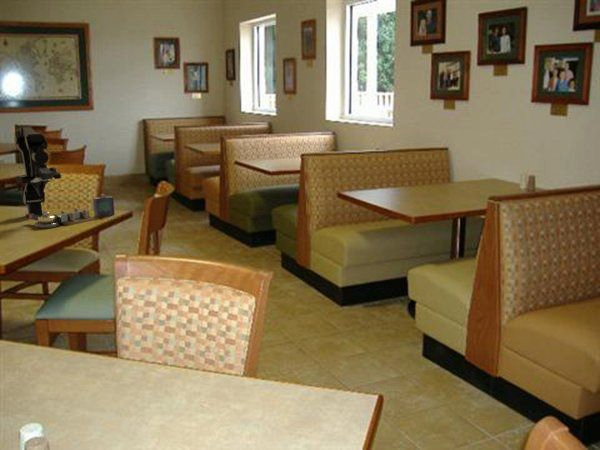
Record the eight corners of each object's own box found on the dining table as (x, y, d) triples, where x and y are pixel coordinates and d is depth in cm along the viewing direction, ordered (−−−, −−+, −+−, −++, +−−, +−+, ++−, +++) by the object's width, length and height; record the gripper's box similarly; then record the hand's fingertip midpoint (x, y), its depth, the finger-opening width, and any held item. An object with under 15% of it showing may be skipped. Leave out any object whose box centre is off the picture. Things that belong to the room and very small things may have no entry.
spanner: (54, 220, 274) (53, 214, 274) (83, 215, 287) (83, 209, 286) (61, 222, 271) (61, 215, 271) (90, 217, 284) (90, 210, 284)
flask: (94, 217, 288) (92, 195, 286) (94, 216, 291) (92, 194, 289) (115, 215, 292) (113, 193, 290) (114, 214, 295) (112, 192, 292)
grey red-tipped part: (58, 221, 271) (58, 215, 271) (44, 224, 266) (44, 218, 265) (37, 217, 280) (37, 212, 279) (23, 220, 274) (23, 214, 273)
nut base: (30, 227, 270) (28, 212, 268) (50, 222, 278) (48, 208, 276) (44, 229, 264) (42, 215, 263) (64, 225, 272) (62, 211, 271)
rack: (55, 223, 277) (54, 212, 276) (81, 217, 289) (80, 206, 287) (68, 225, 272) (67, 214, 271) (94, 219, 284) (93, 209, 283)
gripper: (27, 165, 260) (31, 201, 264) (66, 160, 275) (69, 195, 279) (13, 163, 267) (17, 198, 270) (52, 159, 282) (55, 192, 285)
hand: (40, 196), depth 276 cm, fingers closed
